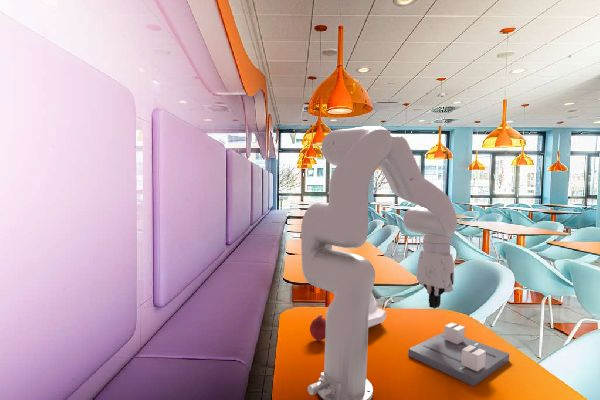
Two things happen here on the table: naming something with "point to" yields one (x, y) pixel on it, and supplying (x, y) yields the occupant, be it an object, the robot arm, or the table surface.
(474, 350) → the fader
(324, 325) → the onion
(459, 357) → the console
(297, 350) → the table surface
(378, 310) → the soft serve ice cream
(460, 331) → the fader
